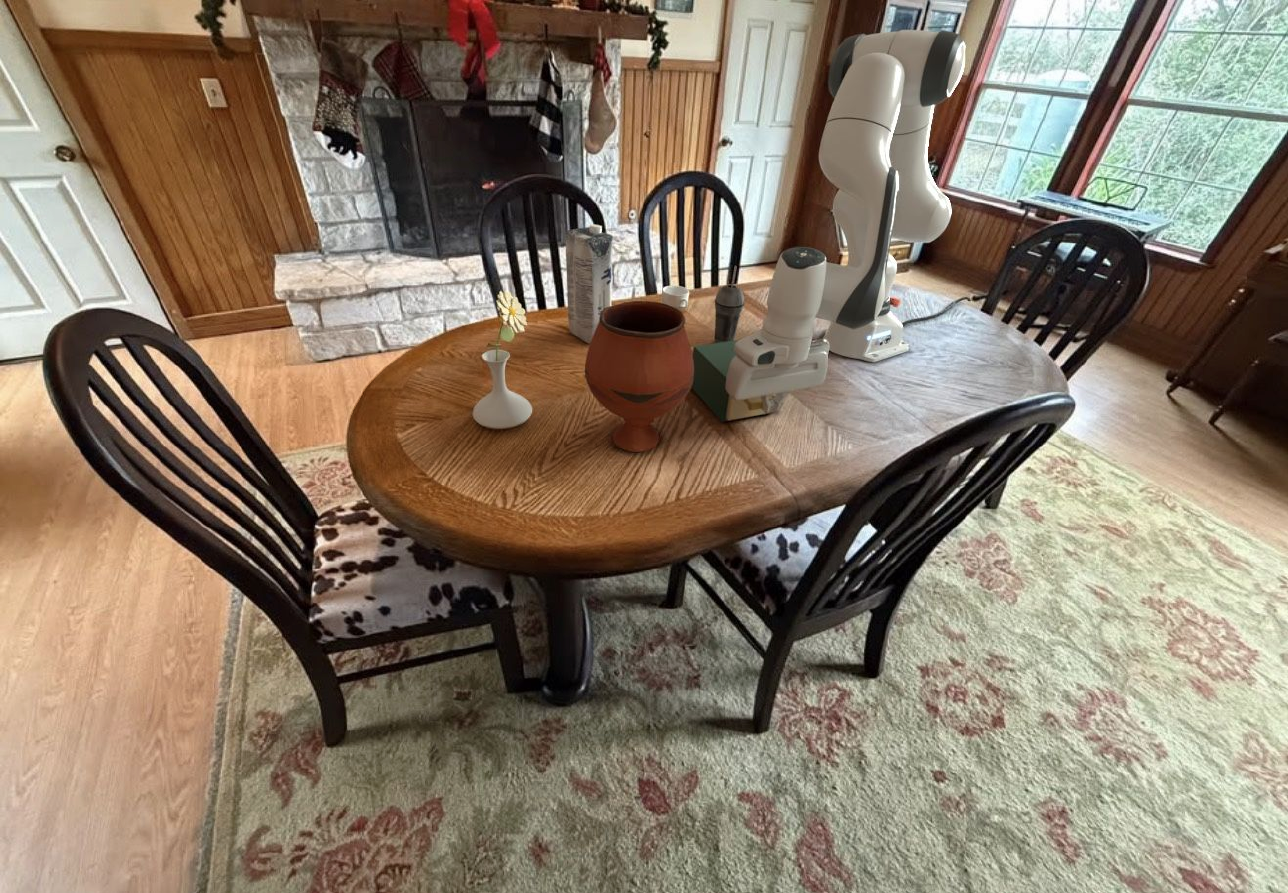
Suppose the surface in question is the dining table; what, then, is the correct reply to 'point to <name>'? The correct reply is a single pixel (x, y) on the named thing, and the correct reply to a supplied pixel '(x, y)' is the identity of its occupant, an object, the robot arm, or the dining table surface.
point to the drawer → (745, 407)
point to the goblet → (639, 367)
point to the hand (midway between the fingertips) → (770, 410)
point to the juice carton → (588, 278)
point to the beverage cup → (728, 311)
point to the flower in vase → (503, 373)
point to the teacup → (675, 296)
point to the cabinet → (713, 374)
